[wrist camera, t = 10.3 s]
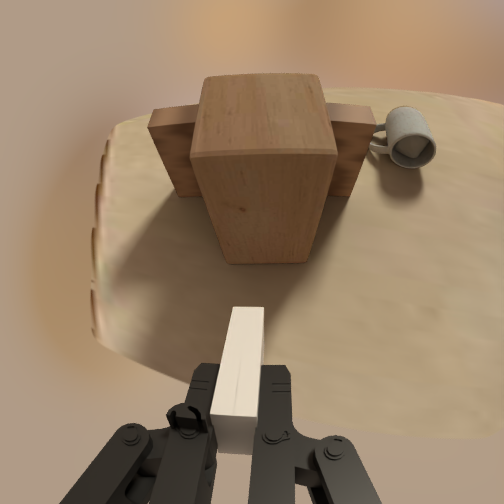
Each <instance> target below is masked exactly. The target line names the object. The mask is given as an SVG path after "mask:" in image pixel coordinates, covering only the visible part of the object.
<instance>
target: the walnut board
mask: <svg viewBox="0 0 504 504" xmlns="http://www.w3.org/2000/svg"><path fill="white" fill-rule="evenodd" d="M326 106H327V110H328V113H329V117H330V121H331V125H332V129H333V134H334V138H335V142H336V147H337V151H338V156H337V160H336V164H335V168H334V171H333V175H332V179H331V182H330V186H329V190H328V193H327V196H350V195H351V192H352V190H353V187H354V185H355V182H356V180H357V177H358V174H359V172H360V169H361V166H362V164H363V161H364V158H365V156H366V153H367V150H368V148H369V145H370V142H371V139H372V136H373V134H374V131H375V128H376V125H377V124H376V121H375V119H374V116H373V113H372V110H371V108H370V107H369V106H360V105H350V104H338V103H326ZM198 107H199V104H197V105H187V106H178V107H169V108H162V109H154V110H153V113H152V116H151V118H150V121H149V124H148V127H147V128H148V130H149V132H150V135H151V137H152V139H153V141H154V144H155V146H156V148H157V150H158V153H159V155H160V157H161V159H162V161H163V164H164V166H165V168H166V170H167V172H168V175H169V177H170V179H171V181H172V183H173V185H174V188H175V190H176V192H177V194H178V196H179V197H192V196H202V193H201V190H200V187H199V184H198V181H197V178H196V175H195V173H194V170H193V167H192V164H191V161H190V158H189V157H190V151H191V145H192V139H193V133H194V128H195V122H196V117H197V112H198Z"/></svg>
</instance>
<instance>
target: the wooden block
mask: <svg viewBox="0 0 504 504" xmlns="http://www.w3.org/2000/svg"><path fill="white" fill-rule="evenodd" d="M337 156H338V151H337V147H336V142H335V138H334V134H333V129H332V125H331V121H330V117H329V113H328V110H327V106H326V102H325V98H324V95H323V91H322V87H321V84H320V80H319V78H318V76H317V75H315V74H298V73H266V74H264V73H263V74H239V75H224V76H213V77H207V78H205V80H204V83H203V87H202V92H201V97H200V102H199V107H198V112H197V117H196V122H195V128H194V133H193V139H192V145H191V151H190V157H189V158H190V161H191V164H192V167H193V170H194V173H195V175H196V178H197V181H198V184H199V187H200V190H201V193H202V196H203V198H204V201H205V204H206V207H207V210H208V213H209V215H210V218H211V221H212V224H213V227H214V229H215V232H216V235H217V238H218V241H219V243H220V246H221V249H222V252H223V254H224V257H225V260H226V262H227V263H228V264H256V263H304V262H307V260H308V257H309V254H310V250H311V247H312V244H313V241H314V237H315V234H316V231H317V228H318V224H319V221H320V217H321V214H322V211H323V207H324V204H325V200H326V197H327V193H328V190H329V186H330V182H331V179H332V175H333V171H334V168H335V164H336V160H337Z"/></svg>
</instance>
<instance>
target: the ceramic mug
mask: <svg viewBox="0 0 504 504" xmlns="http://www.w3.org/2000/svg"><path fill="white" fill-rule="evenodd" d="M385 130H386V135H387V142H388V146H378V145H374V144H372V143H371V142H370V145H369V149H370V150H372V151H373V152H375V153H381V154H389V155H390V158H391V159H392V161H393V162H394V163H396V164H397V165H399V166H401V167H404V168H419V167H422V166H425V165H426V164H428V163H429V162H430V161H431V160H432V159H433V158H434V156H435V153H436V144H435V142H434V139H433V137H432V134H431V132H430V129H429V127H428V125H427V122H426V120H425V118H424V117H423V115H422V114H421V113H420V112H419V111H418V110H417V109H415V108H413V107H410V106H400V107H397V108H395V109H393V110H392V111H391V112H390V113H389V114H388V115H387V118H386V123H383V124H377V125H376V128H375V131H374V133H376V132H379V131H385Z"/></svg>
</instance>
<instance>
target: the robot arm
mask: <svg viewBox="0 0 504 504" xmlns="http://www.w3.org/2000/svg"><path fill="white" fill-rule="evenodd" d="M263 360H264V307H233V310H232V314H231V319H230V323H229V328H228V332H227V337H226V341H225V346H224V351H223V355H222V360H221V364H210V363H201V364H200V365H199V366H198V367H197V368H196V369H195V370H194V373H193V376H192V380H191V383H190V386H189V390H188V393H187V396H186V400H185V403H181V404H178V405H175V406H173V407H172V408H171V409H169V411H168V412H167V414H166V416H167V419H168V421H169V424H170V427H167V428H163V429H155V430H147V429H146V428H145V427H143V426H142V425H140V424H136V423H130V424H126V425H123V426H121V427H120V428H119V429H118V430H117V431H116V432H115V434H114V435H113V436H112V437H111V439H110V440H109V441H108V442H107V444H106V445H105V446H104V447H103V449H102V450H101V451H100V453H99V454H98V455H97V457H96V458H95V459H94V460H93V461H92V463H91V464H90V465H89V467H88V468H87V469H86V471H85V472H84V473H83V474H82V475H81V477H80V478H79V479H78V481H77V482H76V483H75V484H74V486H73V487H72V488H71V489H70V491H69V492H68V494H66V496H65V497H64V498H63V500H62V501H61V502H60V503H59V504H148V502H149V504H211V498H212V492H213V486H214V480H215V473H216V468H217V461H216V453H217V448H218V452H219V453H230V454H245V455H252V465H251V476H250V488H249V499H248V504H295V484H299V485H303V486H307V488H308V491H309V494H310V497H311V500H312V503H313V504H382V503H381V501H380V499H379V497H378V495H377V492H376V490H375V488H374V486H373V484H372V482H371V480H370V478H369V476H368V474H367V472H366V470H365V468H364V466H363V464H362V462H361V460H360V458H359V456H358V454H357V452H356V449H355V447H354V445H353V444H352V443H351V442H350V441H349V440H348V439H346V438H345V437H342V436H337V435H335V436H328V437H325V438H323V439H321V440H317V439H312V438H309V437H306V436H303V435H302V434H300V433H299V432H297V430H296V429H295V428H294V426H293V422H292V400H291V375H290V372H289V371H288V369H287V367H286V366H285V365H263Z"/></svg>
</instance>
